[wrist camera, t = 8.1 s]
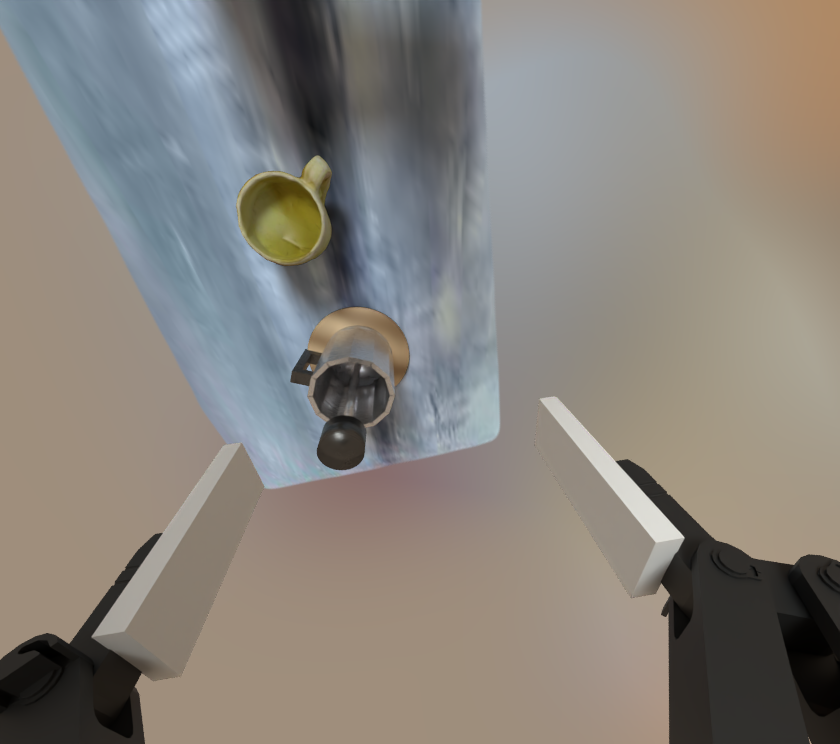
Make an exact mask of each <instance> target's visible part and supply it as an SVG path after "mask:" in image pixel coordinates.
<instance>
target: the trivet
mask: <svg viewBox="0 0 840 744" xmlns="http://www.w3.org/2000/svg"><path fill="white" fill-rule="evenodd" d="M354 325H361V326H367V327H370V328H373V329H375V330H376V331H378V332H380V333H381V334H382V335H383V336H384V337H385V338H386V339H387V341H388V342H389V344H390V346H391V349H392V355H393V364H394V384H395V386H396V385H397V384H398V383H399V382H400V381H401V380H402V378H403V376H404V375H405V373H406V370H407V367H408V363H409V349H408V343H407V340H406V338H405V336H404V334H403V332H402V330H401V329H400V327H399V326H398V325H397V324H396V323H395V322H394V321H393V320H392V319H391V318H389V317H388V316H386V315H385V314H383V313H381V312H379V311H376V310H373V309H370V308H365V307H348V308H343V309H340V310H337V311H335V312H333V313H331V314H329V315H327V316H326V317H325V318H324V319H322V320H321V321H320V322H319V324H318V325H317V326H316V327H315V329H314V331H313V332H312V334H311V337H310V339H309V343H308V350H311V351H315V352H319V353H323V351H324V349H325V347H326V345H327V343H328V342H329V340H330V338H331V337H332V336H333V335H334V334H335V333H336V332H338V331H339V330H341V329H343V328H345V327H348V326H354ZM316 366H317V365H313V364H310V367H311V369H312V371H313V372H314V370H315V368H316Z"/></svg>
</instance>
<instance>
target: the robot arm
mask: <svg viewBox="0 0 840 744" xmlns="http://www.w3.org/2000/svg"><path fill="white" fill-rule="evenodd" d="M535 447H536V448H537V450H538V452H539V453H540V455H541V456H542V458H543V459H544V461H545V463H546V464H547V466H548V468H549V469H550V471H551V472H552V474H553V475H554V477H555V479H556V480H557V482H558V483H559V485H560V486H561V488H562V490H563V491H564V493H565V495H566V496H567V498H568V499H569V501H570V502H571V504H572V506H573V507H574V509H575V510H576V512H577V513H578V515H579V517H580V518H581V520H582V521H583V523H584V525H585V526H586V528H587V529H588V531H589V533H590V534H591V536H592V537H593V539H594V541H595V542H596V544H597V545H598V547H599V548H600V550H601V552H602V553H603V555H604V556H605V558H606V560H607V561H608V562H609V564H610V566H611V568H612V569H613V571H614V572H615V574H616V575H617V577H618V579H619V580H620V582H621V583H622V585H623V587H624V588H625V590H626V591H627V593H628V594H629V596H630V598H635V597H640V596H646V595H652V594H656V592H657V590H658V588H659V586H660V584H661V583H662V584H663V586H664V587H665V588H666V590H667V591H668V592H669V594H670V597H669V598H668V600H667V602H666V604H665V606H664V607H663V610H662V613H661V615H663V616H665V617H666V616H667V614H668V613H669V744H810V743H809V739H810V741H811V743H812V744H840V562H838V561H837V560H833V559H830V558H827V557H824V556H820V555H806V556H803V557H801V558H800V559H799V560H798V561H797V562H796V563H795V565H790V564H784V563H777V562H771V561H765V560H758V559H753V558H751V557H750V556H748V555H747V554H746V553H744V552H743V551H741V550H739V549H738V548H736V547H733V546H731V545H729V544H727V543H723V542H719V541H716V540H715V539H714V538H712V537H711V536H710V535H709V534H708V533H707V532H706V531H705V530H704V529H703V528H702V527H701V526H700V525H699V524H698V523H697V522H696V521H695V520H694V519H693V518H692V517H691V516H690V515H689V514H688V513H687V512H686V511H685V510H684V509H683V508H682V507H681V506H680V505H679V504H678V503H677V502H676V501H675V500H674V499H673V498H672V497H671V496H670V495H668V494H667V492H666V491H665V490H664V489H663V488H662V487H661V486H660V485H659V484H657V483H656V481H655V480H654V479H653V478H652V477H651V476H650V475H649V474H648V473H647V472H646V471H645V470H644V469H643V468H641V467H639V466H638V465H636V464H635V463H633V462H631V461H630V460H628V459H627V460H620V461H614V459H612V457H611V456H610V455H609V454H608V453H607V452H606V451H605V450H604V448H603V447H602V446H601V445H600V444H599V443H598V442H597V441H596V440H595V439H594V438H593V437H592V435H591V434H590V433H589V432H588V431H587V430H586V429H585V428H584V427H583V425H582V424H581V423H580V422H579V421H578V420H577V419H576V418H575V417H574V416H573V414H572V413H571V412H570V411H569V410H568V409H567V408H566V407H565V406H564V405H563V404H562V402H561V401H560V400H559V399H558V398H557V397H556V396H554V397H547V398H540V399H539V405H538V415H537V425H536V434H535ZM263 489H264V485H263V483H262V481H261V479H260V477H259V475H258V473H257V471H256V469H255V467H254V465H253V463H252V461H251V459H250V458H249V456H248V454H247V452H246V450H245V448H244V446H243V444H242V443H235V444H228V445H223V447H222V449H221V450H220V451H219V453H218V454H217V456H216V457H215V458H214V460H213V462H212V463H211V464H210V466H209V467H208V469H207V470H206V472H205V473H204V474H203V476H202V477H201V479H200V480H199V482H198V483H197V485H196V486H195V487H194V489H193V490H192V492H191V493H190V495H189V496H188V498H187V499H186V501H185V502H184V503H183V505H182V506H181V508H180V509H179V511H178V512H177V514H176V515H175V517H174V518H173V520H172V521H171V522H170V524H169V525H168V527H167V528H166V530H165V531H164V533H159V534H155V535H154V536H153V537H151V538H150V539H149V540H148V541H147V542H146V543H145V544H144V545H143V546H142V547H141V548H140V549H139V550H138V551H137V552H136V553H135V555H134V556H133V558H132V559H131V560H130V562H129V563H128V564H127V566H126V567H125V568H126V569H125V571H122V573H121V574H120V575H119V577H118V578H117V580H116V581H115V585H114V586H111V588H110V589H109V591H108V592H107V593H106V595H105V596H104V597H103V599H102V600H101V601H100V603H99V604H98V606H97V607H96V608H95V610H94V611H93V613H92V614H91V615H90V617H89V618H88V619H87V621H86V622H85V623H84V625H83V626H82V628H81V629H80V630H79V632H78V633H77V635H76V636H75V637H74V638H73V640H72V641H71V643H70V644H68V643H66V642H65V641H63V640H62V639H60V638H59V637H57V636H56V635H53V634H49V633H46V634H43V635H39V636H35V637H33V638H32V639H30V640H28V641H26V642H24V643H22V644H21V645H19V646H18V647H16V648H15V649H14V650H12V651H11V652H10V653H8V654H7V655H5V656H4V657H3V658H2V659H1V660H0V744H145V740H144V732H143V724H142V715H141V707H140V698H139V693H138V691H137V689H136V688H135V684H136V683H137V681H138V679H139V677H140V675H141V673H142V674H144V675H145V676H147V677H148V678H150V679H151V680H152V681H157V680H162V679H168V678H174V677H180V676H181V675H182V673H183V671H184V668H185V666H186V663H187V662H188V659H189V657H190V655H191V652H192V650H193V648H194V646H195V643H196V641H197V639H198V637H199V634H200V632H201V630H202V627H203V625H204V623H205V621H206V618H207V616H208V614H209V611H210V609H211V607H212V605H213V602H214V600H215V598H216V596H217V593H218V591H219V589H220V586H221V584H222V582H223V580H224V577H225V575H226V573H227V570H228V568H229V566H230V564H231V561H232V559H233V557H234V555H235V552H236V550H237V548H238V546H239V543H240V541H241V538H242V536H243V534H244V532H245V529H246V527H247V525H248V523H249V521H250V518H251V516H252V514H253V511H254V509H255V507H256V505H257V502H258V500H259V498H260V495H261V493H262V491H263ZM808 737H809V738H808Z"/></svg>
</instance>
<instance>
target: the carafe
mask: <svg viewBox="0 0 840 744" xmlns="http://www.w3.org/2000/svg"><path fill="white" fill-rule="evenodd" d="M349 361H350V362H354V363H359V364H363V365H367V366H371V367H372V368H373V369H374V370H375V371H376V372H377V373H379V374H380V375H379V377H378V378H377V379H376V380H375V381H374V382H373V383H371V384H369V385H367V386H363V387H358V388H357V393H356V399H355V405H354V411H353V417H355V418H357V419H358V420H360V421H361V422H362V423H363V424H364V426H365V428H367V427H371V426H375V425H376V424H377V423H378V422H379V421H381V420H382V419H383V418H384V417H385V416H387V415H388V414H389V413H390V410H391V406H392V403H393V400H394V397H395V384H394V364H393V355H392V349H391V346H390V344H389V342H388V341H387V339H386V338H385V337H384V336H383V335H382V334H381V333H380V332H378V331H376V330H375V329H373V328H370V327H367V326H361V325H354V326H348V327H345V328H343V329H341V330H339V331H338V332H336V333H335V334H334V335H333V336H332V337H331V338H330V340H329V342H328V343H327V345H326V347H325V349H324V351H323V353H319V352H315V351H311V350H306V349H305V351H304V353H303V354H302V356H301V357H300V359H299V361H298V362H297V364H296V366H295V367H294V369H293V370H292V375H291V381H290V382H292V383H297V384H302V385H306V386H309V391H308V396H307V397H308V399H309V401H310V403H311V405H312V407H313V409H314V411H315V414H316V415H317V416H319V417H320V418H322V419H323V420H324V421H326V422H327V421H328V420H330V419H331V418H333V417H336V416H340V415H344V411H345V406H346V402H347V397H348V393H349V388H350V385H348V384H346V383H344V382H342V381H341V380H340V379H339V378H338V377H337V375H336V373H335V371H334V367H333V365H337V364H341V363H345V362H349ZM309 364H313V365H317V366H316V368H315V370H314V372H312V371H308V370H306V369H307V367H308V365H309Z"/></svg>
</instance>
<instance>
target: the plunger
mask: <svg viewBox="0 0 840 744" xmlns="http://www.w3.org/2000/svg"><path fill="white" fill-rule="evenodd" d="M333 367H334V371H335V373H336V375H337V377H338V378H339V379H340V380H341V381H342V382H344V383H346V384H348V385H350V388H349V393H348V397H347V402H346V406H345V411H344V415H340V416H336V417H333V418H331V419H330V420H328V421H327V422H326V424H325V425H324V428H323V431H322V434H321V438H320V441H319V444H318V448H317V456H318V458H319V460H320V461H321V462H322V463H323V464H324V465H325V466H327V467H329V468H332V469H335V470H347V469H351V468H353V467H355V466H357V465H358V464H359V463H360V462H361V461H362V460H363V458H364V453H365V442H366V428H365V426H364V424H363V423H362V422H361V421H360V420H358V419H357V418H355V417H353V411H354V405H355V399H356V393H357V388H358V387H363V386H367V385H369V384H371V383H373V382H374V381H375V380H376V379H377V378H378V377H379V375H380V374H379V373H377V372H376V371H375V370H374V369H373V368H372V367H371V366H367V365H363V364H359V363H354V362H350V361H349V362H345V363H341V364H337V365H333Z"/></svg>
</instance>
